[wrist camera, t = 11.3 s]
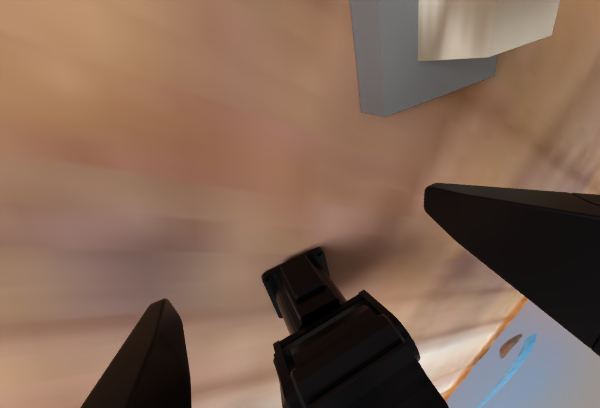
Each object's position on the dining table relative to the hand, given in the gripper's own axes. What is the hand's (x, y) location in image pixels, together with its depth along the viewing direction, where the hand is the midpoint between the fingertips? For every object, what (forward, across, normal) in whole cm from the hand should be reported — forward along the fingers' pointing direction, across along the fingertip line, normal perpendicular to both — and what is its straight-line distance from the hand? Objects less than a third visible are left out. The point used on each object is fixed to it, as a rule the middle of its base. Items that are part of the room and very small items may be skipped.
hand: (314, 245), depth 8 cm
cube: (+10, -16, -6) cm, 19 cm away
